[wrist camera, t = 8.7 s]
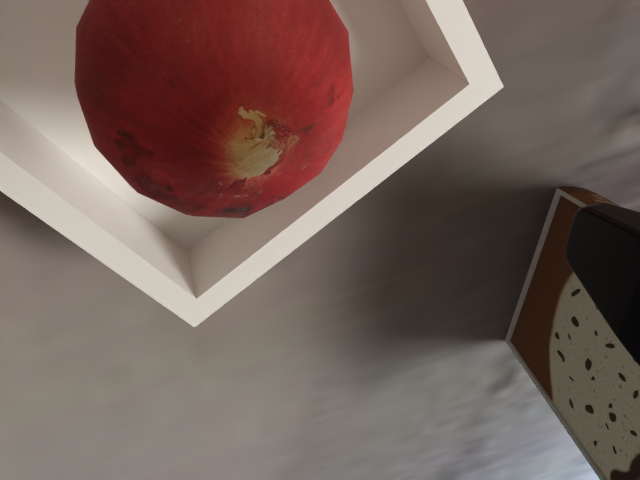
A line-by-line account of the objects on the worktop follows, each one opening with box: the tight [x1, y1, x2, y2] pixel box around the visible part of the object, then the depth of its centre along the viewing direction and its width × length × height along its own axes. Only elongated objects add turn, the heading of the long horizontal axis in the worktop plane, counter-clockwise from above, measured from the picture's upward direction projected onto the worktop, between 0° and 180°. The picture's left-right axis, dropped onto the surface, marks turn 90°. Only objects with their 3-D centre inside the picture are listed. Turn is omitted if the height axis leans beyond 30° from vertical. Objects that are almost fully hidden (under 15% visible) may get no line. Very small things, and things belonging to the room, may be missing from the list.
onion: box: [74, 0, 354, 218], centre depth 12 cm, size 6×6×8 cm
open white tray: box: [0, 0, 504, 327], centre depth 15 cm, size 12×12×4 cm
